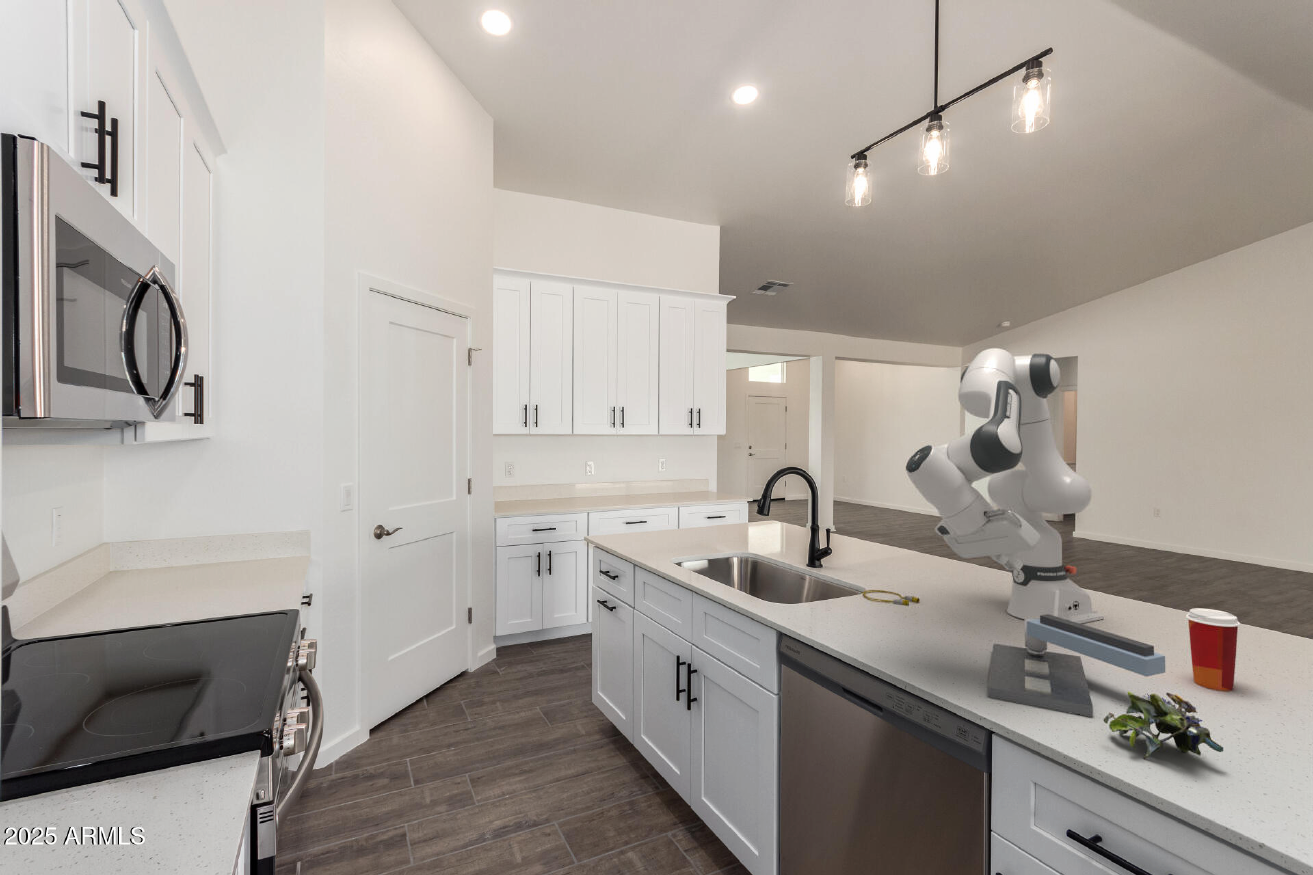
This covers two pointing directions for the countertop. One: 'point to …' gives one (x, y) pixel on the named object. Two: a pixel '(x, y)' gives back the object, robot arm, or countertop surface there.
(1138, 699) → the passion flower
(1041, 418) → the robot arm
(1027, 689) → the dark grey base plate
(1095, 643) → the bar
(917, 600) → the extension cord
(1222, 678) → the paper cup
